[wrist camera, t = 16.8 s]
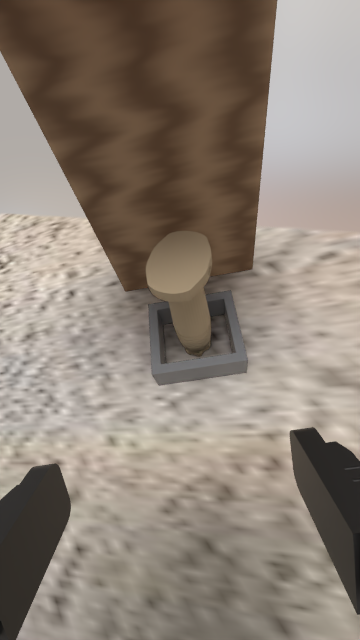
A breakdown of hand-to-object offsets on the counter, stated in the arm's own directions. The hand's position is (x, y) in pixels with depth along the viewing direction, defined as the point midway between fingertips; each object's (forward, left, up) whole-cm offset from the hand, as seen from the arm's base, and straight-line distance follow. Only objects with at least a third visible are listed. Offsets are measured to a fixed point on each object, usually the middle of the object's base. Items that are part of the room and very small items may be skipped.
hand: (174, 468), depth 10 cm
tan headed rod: (+1, +15, -21) cm, 25 cm away
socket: (+1, +15, -21) cm, 25 cm away
